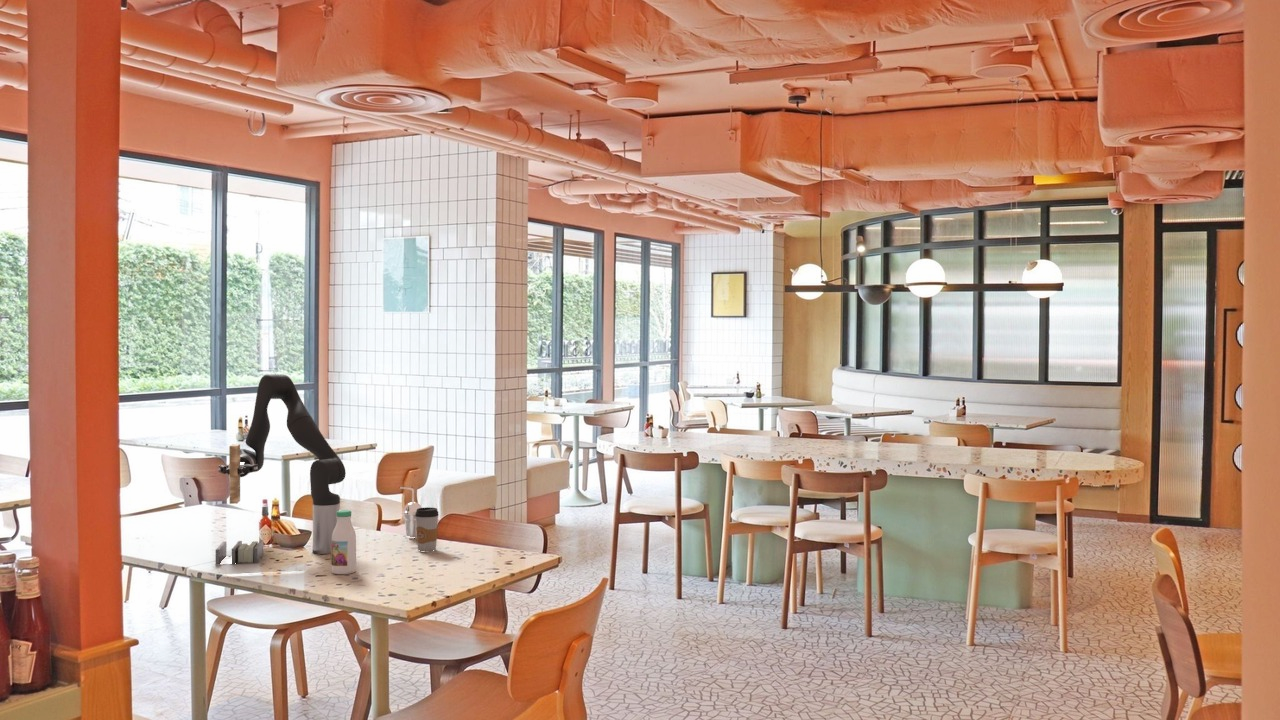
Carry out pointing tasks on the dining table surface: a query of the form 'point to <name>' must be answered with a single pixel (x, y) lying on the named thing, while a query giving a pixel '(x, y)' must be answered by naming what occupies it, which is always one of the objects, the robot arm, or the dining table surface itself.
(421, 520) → the coffee cup
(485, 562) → the dining table surface
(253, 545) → the pale green grooved block
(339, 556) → the milk bottle
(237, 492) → the oak block
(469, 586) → the dining table surface
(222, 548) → the sheet rack
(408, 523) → the cup with straw
